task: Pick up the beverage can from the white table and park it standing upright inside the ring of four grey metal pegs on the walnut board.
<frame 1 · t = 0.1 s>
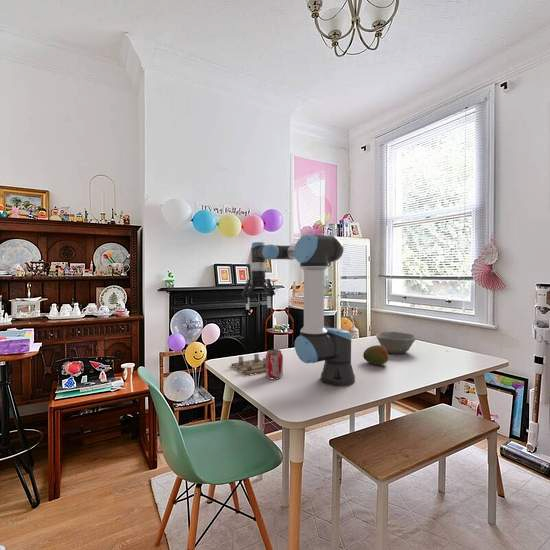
hand: (258, 308, 182), 28 cm above the table, tool pointing down, fingers open, 13 cm apart
beverage can: (274, 377, 153), on the table
ceramic bowl: (395, 352, 196), on the table
peg board: (253, 368, 166), on the table
fruit: (375, 364, 172), on the table
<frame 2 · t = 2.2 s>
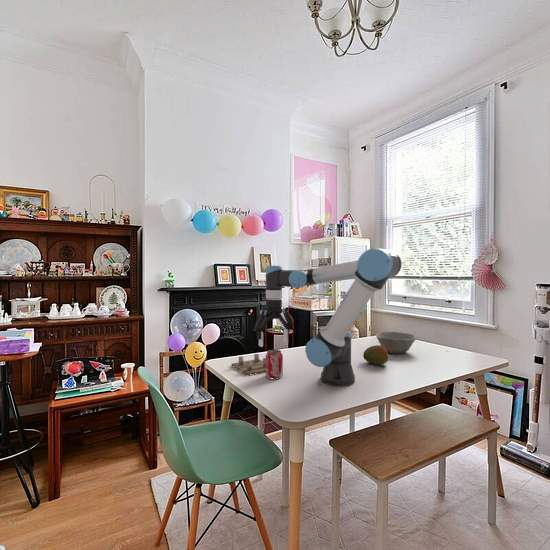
hand: (273, 344, 152), 15 cm above the table, tool pointing down, fingers open, 13 cm apart
nothing on the table moved.
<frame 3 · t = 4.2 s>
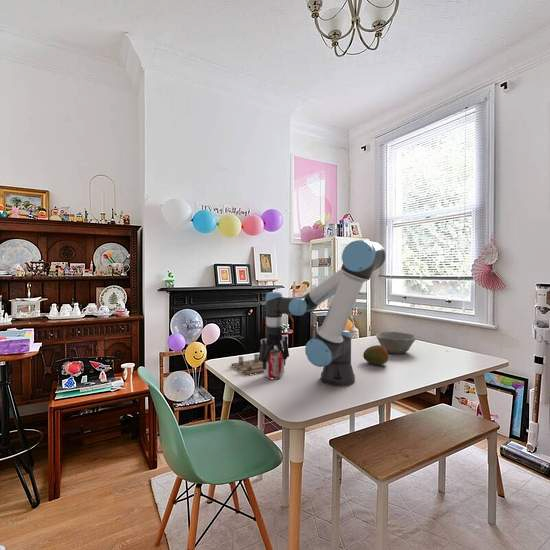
hand: (274, 374, 153), 1 cm above the table, tool pointing down, fingers closed on beverage can, 8 cm apart
beverage can: (274, 377, 153), on the table, touching gripper
everything else where it was.
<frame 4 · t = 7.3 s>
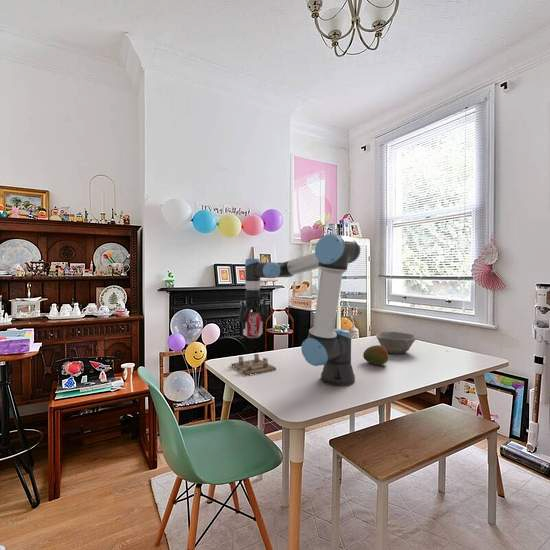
hand: (253, 334, 166), 17 cm above the table, tool pointing down, fingers closed on beverage can, 8 cm apart
beverage can: (253, 337, 166), point 16 cm above the table, touching gripper
everything else where it was.
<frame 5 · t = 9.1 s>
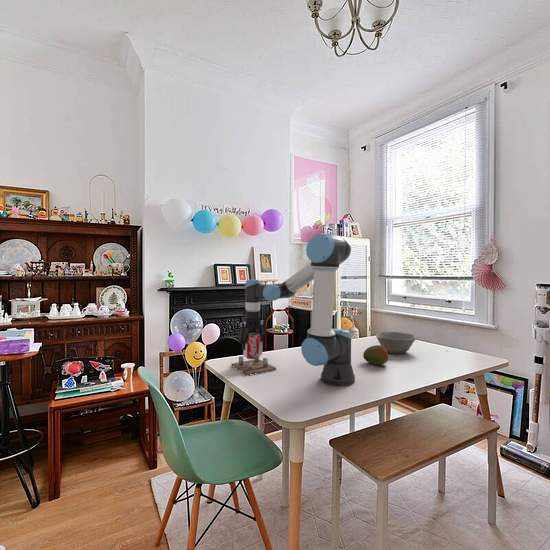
hand: (252, 355, 166), 7 cm above the table, tool pointing down, fingers closed on beverage can, 8 cm apart
beverage can: (252, 357, 166), point 5 cm above the table, touching gripper
everything else where it was.
when the fingers open (4 cm above the table, at t = 10.5 s): beverage can drops 2 cm, resting on peg board.
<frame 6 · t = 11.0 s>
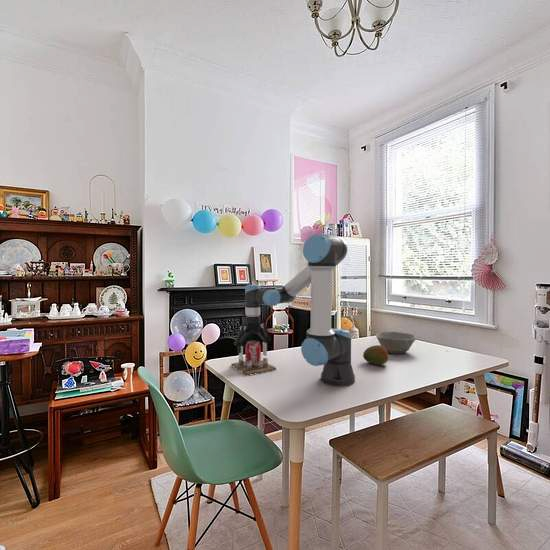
hand: (253, 357, 166), 6 cm above the table, tool pointing down, fingers open, 13 cm apart
beverage can: (253, 366, 166), point 1 cm above the table, touching peg board
everything else where it was.
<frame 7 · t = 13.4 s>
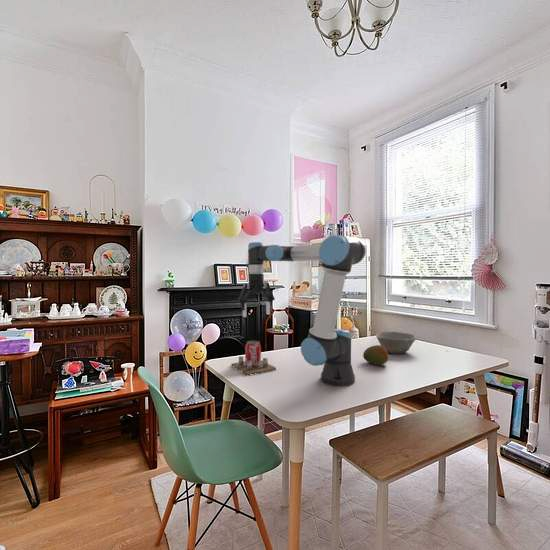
hand: (256, 315, 165), 27 cm above the table, tool pointing down, fingers open, 13 cm apart
nothing on the table moved.
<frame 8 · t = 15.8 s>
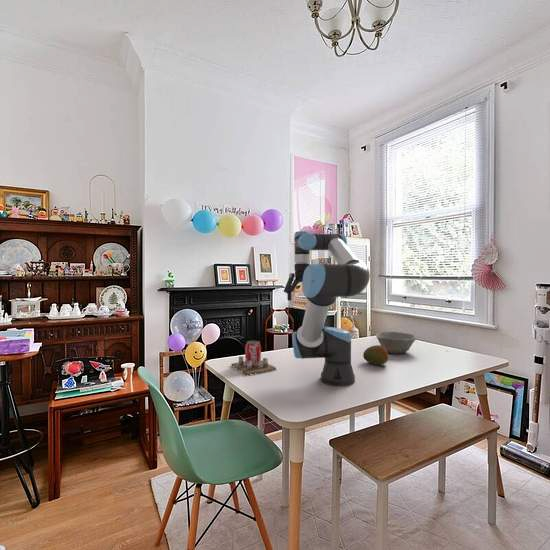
hand: (302, 306, 162), 32 cm above the table, tool pointing down, fingers open, 13 cm apart
nothing on the table moved.
at the end: beverage can 0.0 cm off-centre on the peg board, point 1.0 cm above the peg board's base; beverage can tilted 0°; the gripper is holding nothing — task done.
